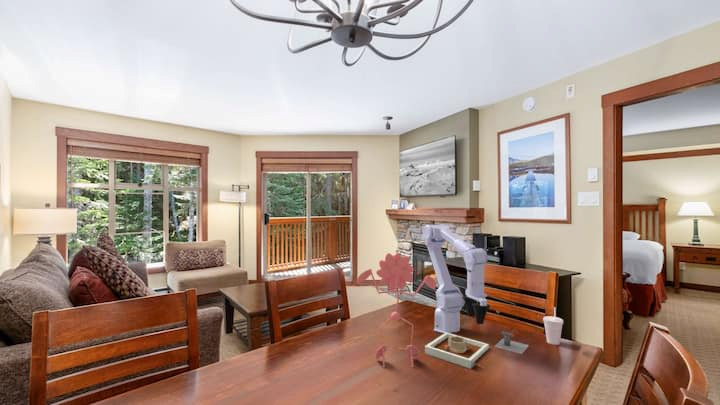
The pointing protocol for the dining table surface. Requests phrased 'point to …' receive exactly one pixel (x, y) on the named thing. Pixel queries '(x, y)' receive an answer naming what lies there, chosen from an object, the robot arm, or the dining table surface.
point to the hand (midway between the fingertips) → (475, 319)
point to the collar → (457, 344)
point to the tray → (453, 357)
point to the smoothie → (553, 328)
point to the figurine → (395, 276)
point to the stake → (511, 344)
